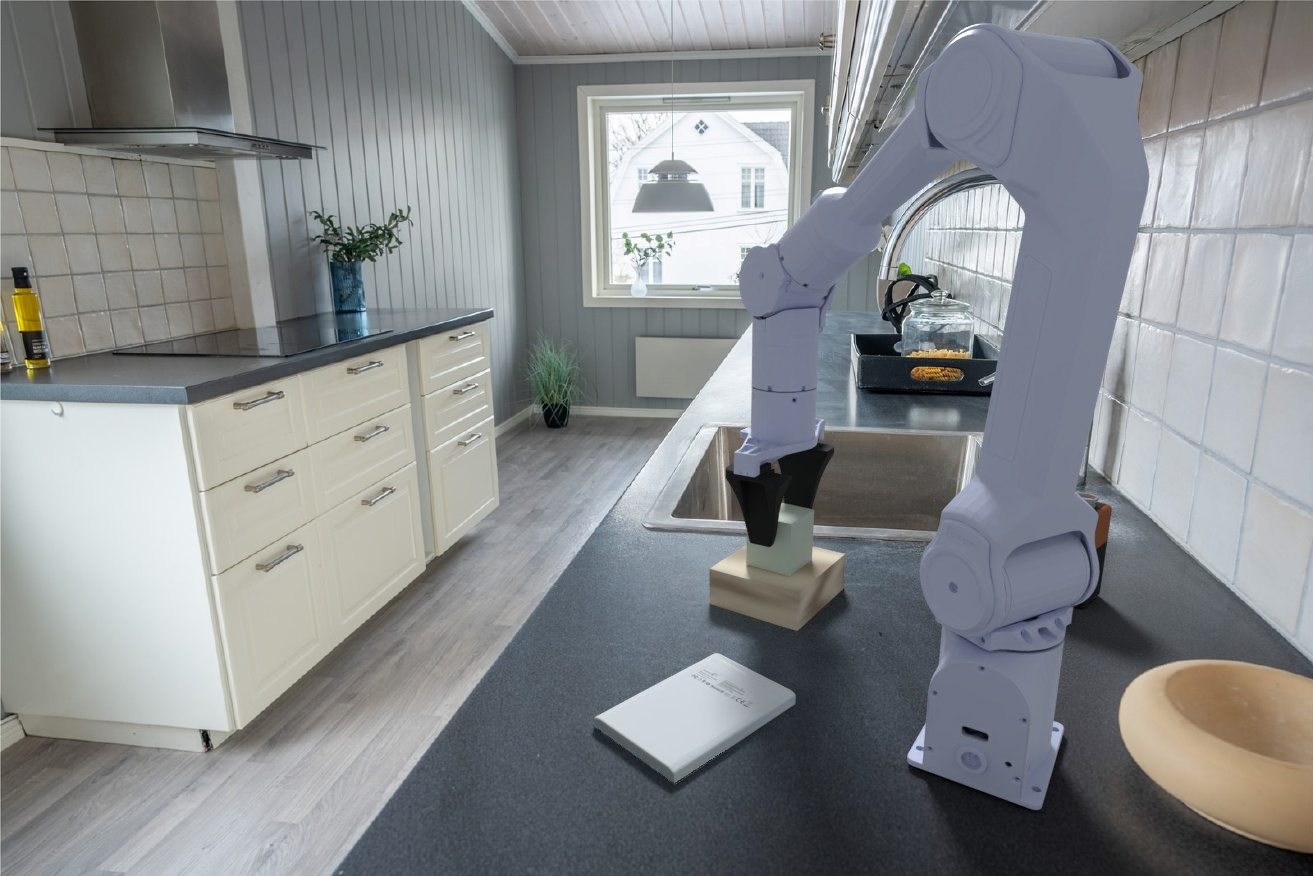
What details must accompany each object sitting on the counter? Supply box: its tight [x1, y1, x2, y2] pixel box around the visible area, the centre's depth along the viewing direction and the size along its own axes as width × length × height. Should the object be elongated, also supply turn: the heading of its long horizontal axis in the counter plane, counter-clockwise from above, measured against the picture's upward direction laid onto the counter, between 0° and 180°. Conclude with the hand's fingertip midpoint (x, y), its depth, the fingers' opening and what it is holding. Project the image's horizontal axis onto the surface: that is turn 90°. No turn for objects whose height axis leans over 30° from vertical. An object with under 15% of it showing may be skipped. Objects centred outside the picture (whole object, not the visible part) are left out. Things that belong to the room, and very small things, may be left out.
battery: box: [1074, 491, 1113, 609], centre depth 72 cm, size 4×7×10 cm, turn 42°
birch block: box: [708, 544, 846, 632], centre depth 73 cm, size 10×9×4 cm
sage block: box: [745, 502, 815, 577], centre depth 72 cm, size 4×4×5 cm
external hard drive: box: [593, 652, 796, 783], centre depth 56 cm, size 2×8×12 cm
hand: (780, 530), depth 72 cm, fingers open, 7 cm apart
